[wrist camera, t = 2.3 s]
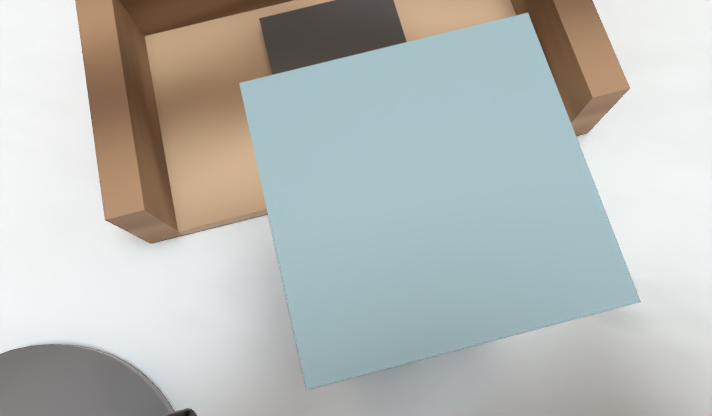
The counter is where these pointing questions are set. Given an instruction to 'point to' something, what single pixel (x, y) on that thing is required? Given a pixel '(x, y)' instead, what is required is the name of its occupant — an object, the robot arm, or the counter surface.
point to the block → (429, 200)
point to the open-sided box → (260, 59)
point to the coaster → (74, 384)
